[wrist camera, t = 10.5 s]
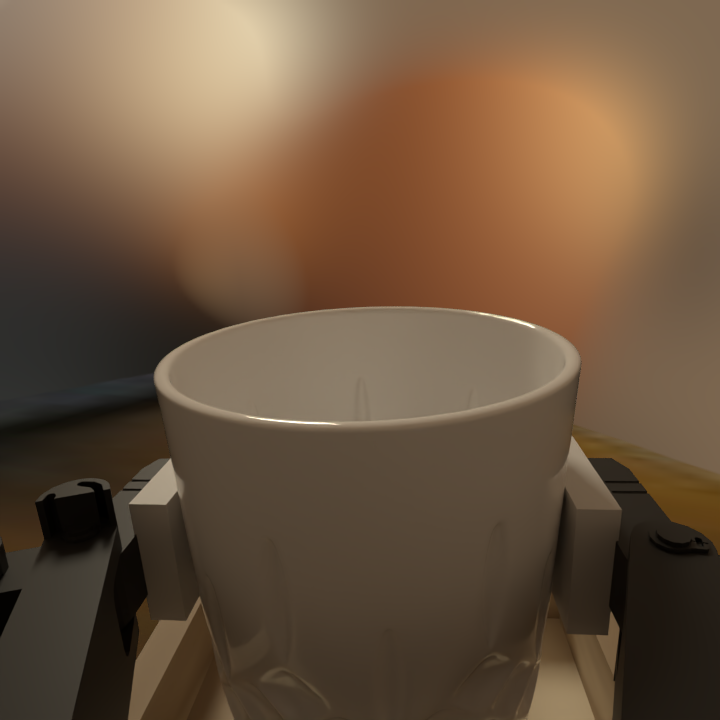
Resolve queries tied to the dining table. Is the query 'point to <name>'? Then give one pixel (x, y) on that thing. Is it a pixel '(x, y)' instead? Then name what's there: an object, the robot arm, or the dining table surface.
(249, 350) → the white cup
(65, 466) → the dining table surface
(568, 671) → the birch crate
